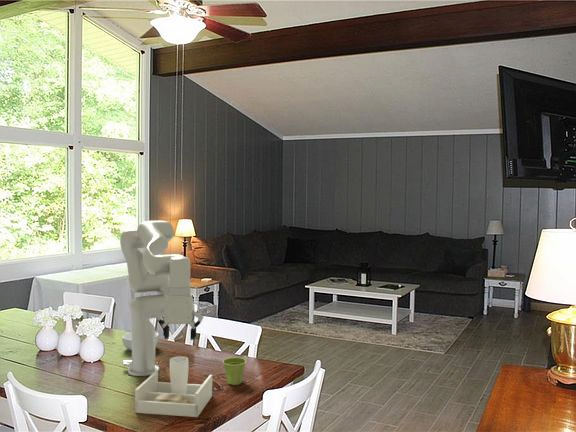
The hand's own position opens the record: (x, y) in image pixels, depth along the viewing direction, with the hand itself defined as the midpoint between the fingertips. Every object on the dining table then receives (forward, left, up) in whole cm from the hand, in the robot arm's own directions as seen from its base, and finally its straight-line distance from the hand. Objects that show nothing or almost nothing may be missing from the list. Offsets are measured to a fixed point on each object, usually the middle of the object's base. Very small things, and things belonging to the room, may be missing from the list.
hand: (179, 338), depth 198 cm
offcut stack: (0, -9, -23) cm, 25 cm away
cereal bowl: (-37, +56, -23) cm, 71 cm away
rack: (0, -4, -23) cm, 23 cm away
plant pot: (+16, +21, -23) cm, 35 cm away
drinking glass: (0, 0, -23) cm, 23 cm away
